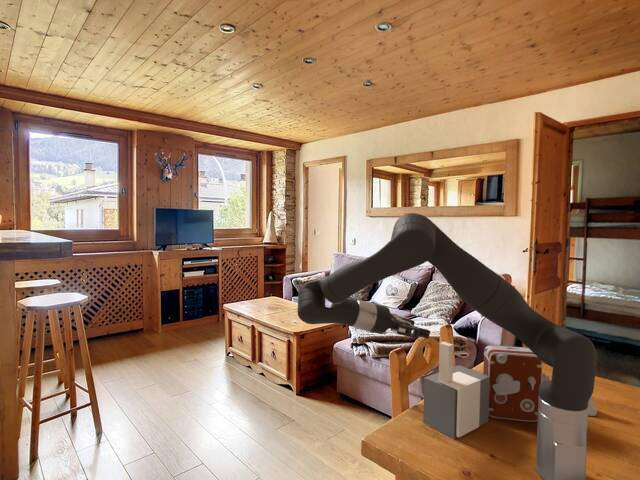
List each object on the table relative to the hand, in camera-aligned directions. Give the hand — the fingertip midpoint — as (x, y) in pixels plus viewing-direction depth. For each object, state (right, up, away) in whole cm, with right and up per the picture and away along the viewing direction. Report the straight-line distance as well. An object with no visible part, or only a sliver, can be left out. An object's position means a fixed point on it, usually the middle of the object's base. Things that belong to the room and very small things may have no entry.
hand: (420, 329), depth 104 cm
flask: (+51, -27, +9) cm, 59 cm away
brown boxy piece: (+31, -27, +6) cm, 41 cm away
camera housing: (+12, -27, +3) cm, 30 cm away
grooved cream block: (+10, -26, -2) cm, 28 cm away
